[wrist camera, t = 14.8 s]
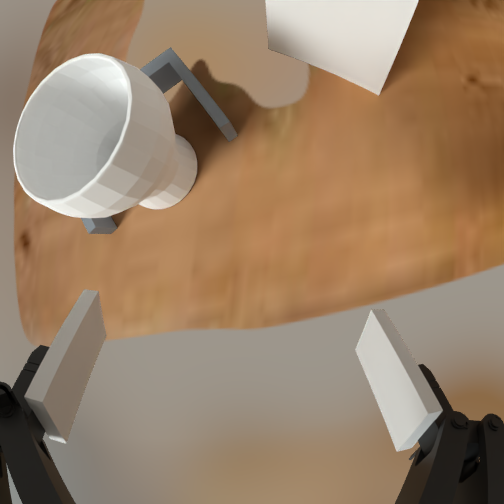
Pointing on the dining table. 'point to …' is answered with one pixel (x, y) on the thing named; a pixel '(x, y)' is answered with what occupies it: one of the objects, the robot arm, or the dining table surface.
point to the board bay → (165, 77)
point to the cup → (101, 141)
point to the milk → (341, 35)
